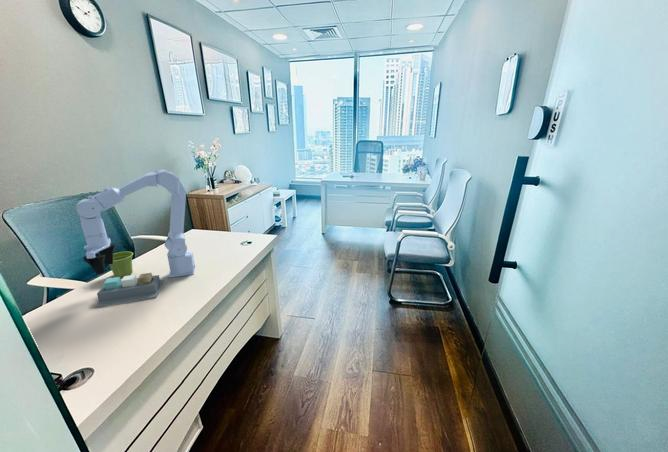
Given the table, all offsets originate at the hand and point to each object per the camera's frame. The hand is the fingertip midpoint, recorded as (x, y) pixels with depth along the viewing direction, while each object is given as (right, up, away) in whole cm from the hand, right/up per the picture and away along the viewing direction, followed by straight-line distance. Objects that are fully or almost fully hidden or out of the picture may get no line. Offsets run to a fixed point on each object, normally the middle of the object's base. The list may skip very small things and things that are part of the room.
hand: (105, 268), depth 96 cm
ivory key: (+8, -7, +2) cm, 11 cm away
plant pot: (-6, -5, +16) cm, 18 cm away
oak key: (+13, -6, +4) cm, 15 cm away
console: (+8, -10, +3) cm, 13 cm away
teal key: (+3, -7, 0) cm, 8 cm away
